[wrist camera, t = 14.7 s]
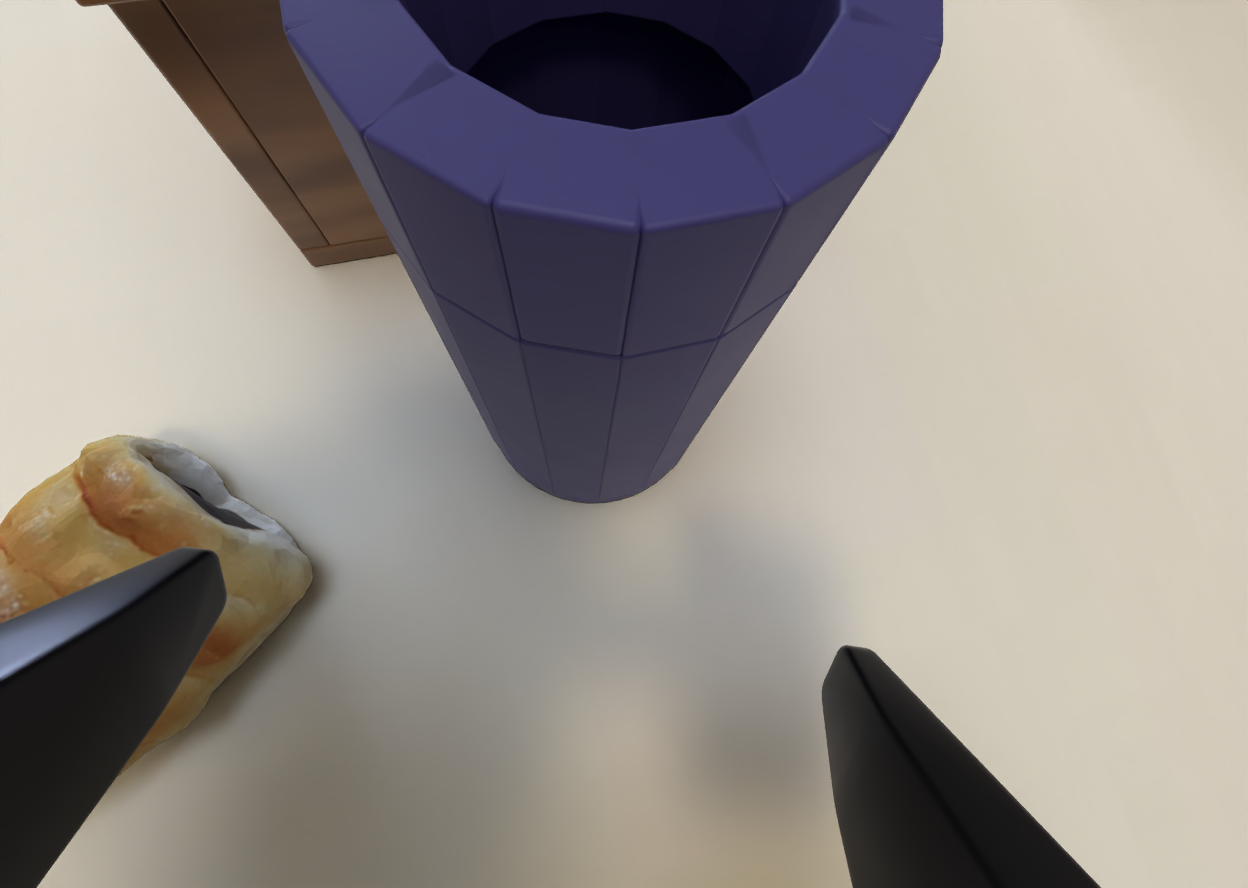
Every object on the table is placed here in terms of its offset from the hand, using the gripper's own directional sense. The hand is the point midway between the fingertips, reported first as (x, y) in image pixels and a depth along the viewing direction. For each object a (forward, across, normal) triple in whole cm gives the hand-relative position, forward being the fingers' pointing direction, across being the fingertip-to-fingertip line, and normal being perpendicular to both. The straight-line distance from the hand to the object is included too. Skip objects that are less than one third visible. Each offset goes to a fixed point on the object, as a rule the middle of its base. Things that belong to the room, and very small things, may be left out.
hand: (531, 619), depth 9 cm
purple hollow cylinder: (+10, 0, +1) cm, 10 cm away
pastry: (+5, +10, +7) cm, 13 cm away
